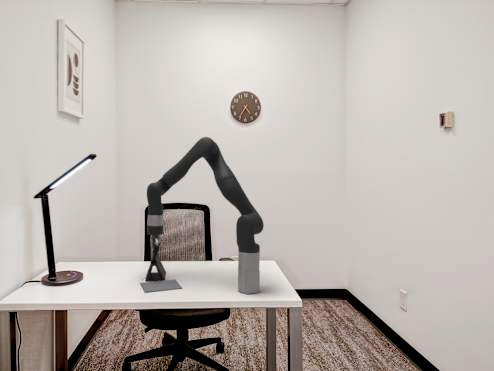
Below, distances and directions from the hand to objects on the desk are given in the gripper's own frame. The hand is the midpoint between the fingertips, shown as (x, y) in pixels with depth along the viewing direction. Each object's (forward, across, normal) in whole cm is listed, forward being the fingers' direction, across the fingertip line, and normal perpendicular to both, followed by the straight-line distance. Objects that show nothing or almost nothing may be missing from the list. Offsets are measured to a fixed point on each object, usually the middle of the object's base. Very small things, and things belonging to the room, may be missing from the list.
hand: (154, 260), depth 177 cm
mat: (+9, -13, -1) cm, 16 cm away
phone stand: (+8, -2, -1) cm, 8 cm away
